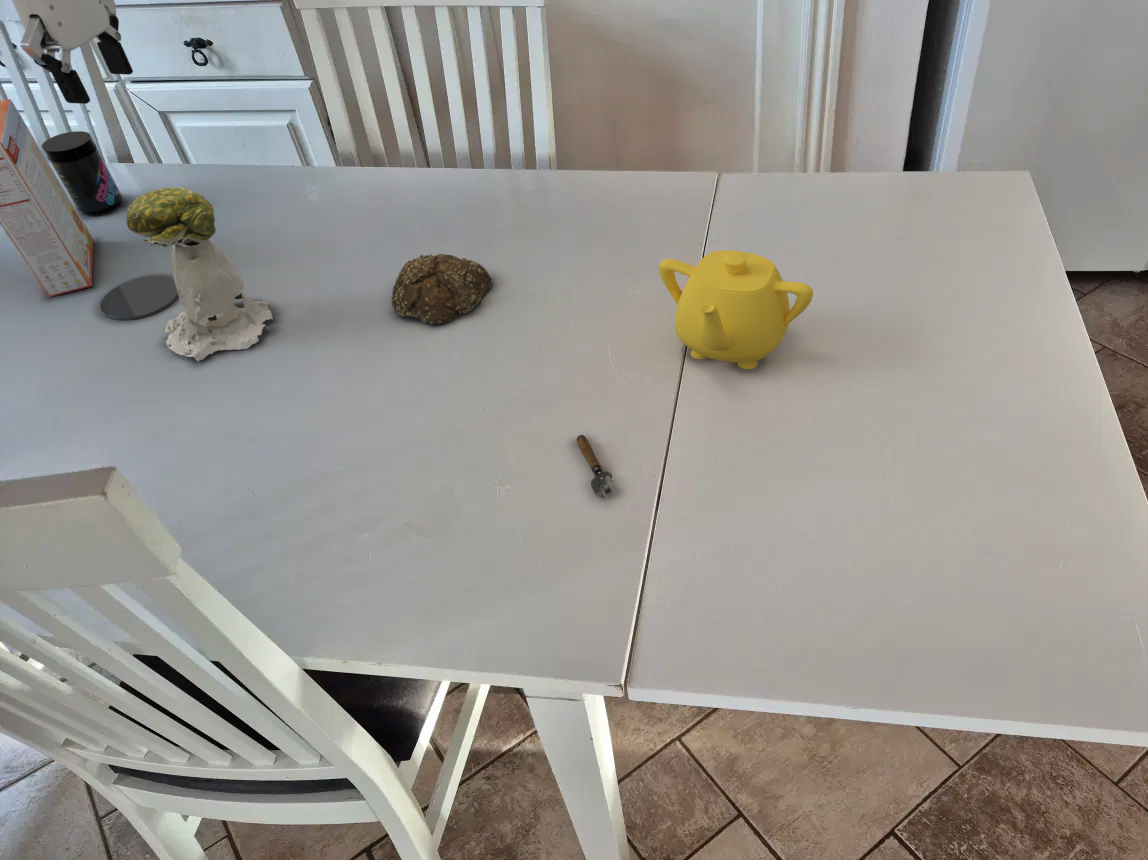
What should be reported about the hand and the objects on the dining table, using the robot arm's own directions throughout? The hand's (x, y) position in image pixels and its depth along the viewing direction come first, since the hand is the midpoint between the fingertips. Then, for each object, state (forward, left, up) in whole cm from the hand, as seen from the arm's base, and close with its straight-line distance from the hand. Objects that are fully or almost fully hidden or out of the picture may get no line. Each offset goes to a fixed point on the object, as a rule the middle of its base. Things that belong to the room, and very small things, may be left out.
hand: (101, 87), depth 112 cm
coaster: (-14, -15, -20) cm, 29 cm away
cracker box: (-15, +1, -20) cm, 25 cm away
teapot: (+16, -88, -20) cm, 92 cm away
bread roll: (+7, -50, -20) cm, 54 cm away
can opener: (-8, -86, -20) cm, 89 cm away
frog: (-13, -31, -20) cm, 39 cm away
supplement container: (-2, +14, -20) cm, 25 cm away
